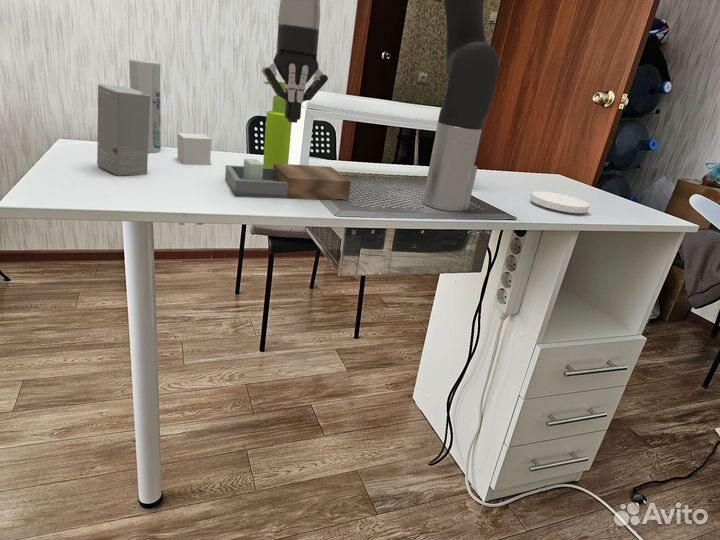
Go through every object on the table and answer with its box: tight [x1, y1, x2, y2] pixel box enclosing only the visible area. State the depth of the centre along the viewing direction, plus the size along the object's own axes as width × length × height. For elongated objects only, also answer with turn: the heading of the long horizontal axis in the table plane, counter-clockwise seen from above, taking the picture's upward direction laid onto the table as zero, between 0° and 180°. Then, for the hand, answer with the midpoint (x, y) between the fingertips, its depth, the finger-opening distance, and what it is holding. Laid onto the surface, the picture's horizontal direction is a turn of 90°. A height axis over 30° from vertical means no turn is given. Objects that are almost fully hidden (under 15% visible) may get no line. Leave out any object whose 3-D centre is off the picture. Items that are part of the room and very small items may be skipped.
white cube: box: [177, 132, 212, 166], centre depth 115 cm, size 6×6×6 cm
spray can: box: [128, 58, 162, 154], centre depth 117 cm, size 6×6×20 cm
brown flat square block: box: [273, 163, 352, 201], centre depth 105 cm, size 13×13×4 cm
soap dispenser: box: [262, 80, 293, 168], centre depth 117 cm, size 6×7×20 cm
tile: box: [243, 158, 263, 181], centre depth 100 cm, size 5×5×2 cm
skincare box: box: [96, 83, 150, 177], centre depth 97 cm, size 8×7×16 cm
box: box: [224, 164, 288, 199], centre depth 101 cm, size 10×13×3 cm
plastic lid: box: [529, 190, 591, 214], centre depth 126 cm, size 14×14×2 cm
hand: (292, 121), depth 99 cm, fingers closed
